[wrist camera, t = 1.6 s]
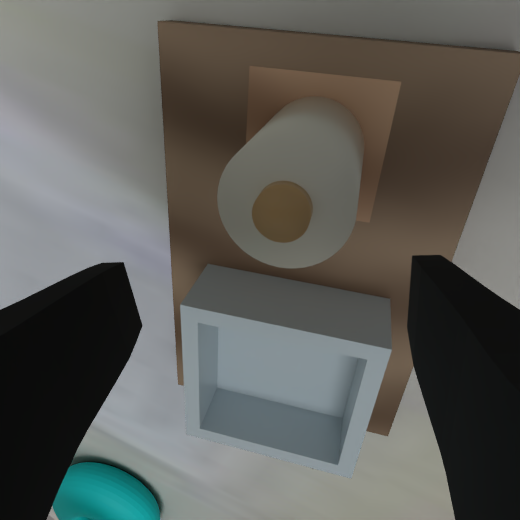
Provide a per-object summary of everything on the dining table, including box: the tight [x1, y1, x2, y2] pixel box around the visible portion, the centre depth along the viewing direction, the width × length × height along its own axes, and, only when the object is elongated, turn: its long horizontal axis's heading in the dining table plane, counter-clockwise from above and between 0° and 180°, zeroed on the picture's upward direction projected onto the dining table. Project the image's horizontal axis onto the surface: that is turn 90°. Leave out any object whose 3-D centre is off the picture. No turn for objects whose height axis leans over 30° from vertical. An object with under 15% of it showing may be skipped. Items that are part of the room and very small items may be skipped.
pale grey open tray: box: [180, 264, 392, 478], centre depth 21 cm, size 9×9×4 cm
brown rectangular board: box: [158, 21, 520, 436], centre depth 20 cm, size 20×13×1 cm, turn 176°
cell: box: [217, 96, 364, 268], centre depth 14 cm, size 4×4×7 cm
